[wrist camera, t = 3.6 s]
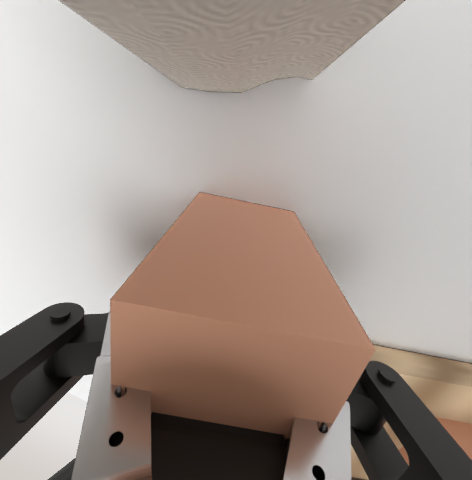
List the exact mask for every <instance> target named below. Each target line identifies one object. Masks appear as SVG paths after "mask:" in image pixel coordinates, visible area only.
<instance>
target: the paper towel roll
mask: <svg viewBox="0 0 472 480" xmlns="http://www.w3.org/2000/svg"><path fill="white" fill-rule="evenodd" d="M59 1H60V2H62V3H63V4H64V5H66V6H67V7H69V8H70V9H71V10H73V11H74V12H76V13H77V14H79V15H80V16H81V17H83V18H84V19H86V20H87V21H88V22H90V23H91V24H93V25H94V26H95V27H97V28H98V29H100V30H101V31H103V32H104V33H105V34H107V35H108V36H110V37H111V38H112V39H114V40H115V41H117V42H118V43H119V44H121V45H122V46H124V47H125V48H127V49H128V50H129V51H131V52H132V53H134V54H135V55H136V56H138V57H139V58H141V59H142V60H143V61H145V62H146V63H148V64H149V65H151V66H152V67H153V68H155V69H156V70H158V71H159V72H161V73H162V74H163V75H165V76H166V77H168V78H169V79H171V80H172V81H174V82H175V83H177V84H178V85H180V86H181V87H184V88H191V89H198V90H205V91H220V92H238V93H241V92H243V91H246V90H249V89H251V88H254V87H256V86H259V85H261V84H264V83H266V82H269V81H271V80H274V79H281V78H289V77H297V76H298V77H302V78H307V79H311V80H312V79H314V78H315V77H316V76H317V75H318V74H320V73H321V72H322V71H323V70H324V69H325V68H327V67H328V66H329V65H330V64H331V63H332V62H334V61H335V60H336V59H337V58H338V57H339V56H341V55H342V54H343V53H344V52H345V51H346V50H348V49H349V48H350V47H351V46H352V45H354V44H355V43H356V42H357V41H358V40H359V39H361V38H362V37H363V36H364V35H365V34H366V33H368V32H369V31H370V30H371V29H372V28H373V27H375V26H376V25H377V24H378V23H379V22H380V21H382V20H383V19H384V18H385V17H386V16H387V15H389V14H390V13H391V12H392V11H393V10H395V9H396V8H397V7H398V6H399V5H400V4H402V3H403V2H404V1H405V0H59Z"/></svg>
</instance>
